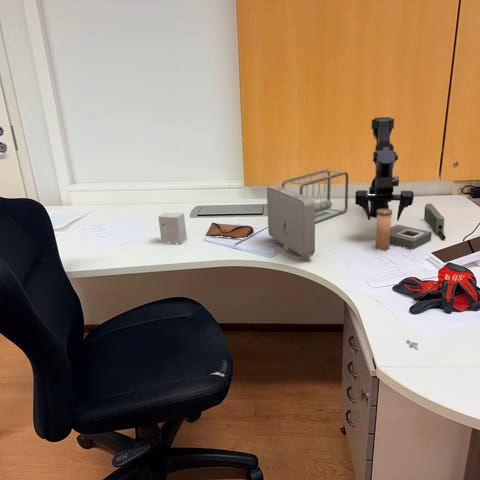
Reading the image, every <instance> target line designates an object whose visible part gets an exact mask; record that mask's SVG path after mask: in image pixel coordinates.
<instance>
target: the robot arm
mask: <svg viewBox="0 0 480 480" xmlns="http://www.w3.org/2000/svg"><path fill="white" fill-rule="evenodd" d="M370 127H371V128H370V129H371V130H372V135H373V138H374V139H375V141H376V145H375V149H374V151H373V152H372V162H373V163H374V165H375V174H374V175H375V176H374V178H373V179H372V181H371V184H370V186H369V188H368V190H358V189H357V190H356V191H355V201H354V202H355V205H357V206H359V207H360V208H362V209H363V211H364V213H365V215H366V217H367V220H368V221H370V219H371V217H375V218H377V209H390V205H389V203H391V202H392V201H396V202H397V201H398V202H399V203H398V209H397V216H396V221H397V222H398V221H400V218H401V216H402V212H403V211H404V210H405V208H408V207H410V206H412V205H413V201H414V198H415V195H414V194H415V193H414V192H413V191H412V190H401V191H400V194H393V193H394V187H399V185H400V177H399V175H393V170H394V167H395V162H397V161H398V160H399V156H398V154H397V152H396V151H395V150H394V149H395V148H394V147H395V146H394V145H393V144H392V143H391V139H390V138H391V135H392V131H393V130H394V128H395V118H391V117H389V116H388V117H386V116H385V117H381V116H380V117H374V119H372V120H371V126H370ZM369 203H370V204H369Z"/></svg>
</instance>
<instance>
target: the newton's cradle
mask: <svg viewBox="0 0 480 480" xmlns="http://www.w3.org/2000/svg"><path fill="white" fill-rule="evenodd" d="M324 174H327V175H324ZM343 175H344V176H345V185H344V186H345V187H344V188H345V190H344V209H343V210H338V209H335V208H332V206H333V202H332V201H331V187H332V185H331V183H332V182H333V178H337V177H341V176H343ZM319 176H321V177H319ZM313 177H316V178H313ZM309 178H310V180H308V179H309ZM297 181H300V182H297ZM301 181H302V182H301ZM321 182H323V183H324V186H326V184H327V190H326V188H324V190H323V192H326V195H325V194H323V196H322V197H321V195H319V196H317V199H316V197H315V196H314V194H315V191H314V190H312V194H311V196H313V198H314V199H313V200H314V201H318V200H319V197H320V202H315V214H319V213H320V211H321V212H323V211H325V210H331V211H335V212H336V211H337V212H336V213H333V214H330V215H327V216H326V217H322V218H319V219H315V225H316V224H319V223H322V222H324V221H327V220H330V219H332V218H335V217H338V216H340V215H342V214H345V213H346V212H347V211H348V206H349V205H348V204H349V203H348V201H349V173H348V172H347V171H343V172H341V171H336V170H335V171H334V170H330V169H323V170H318V171H314V172H311V173H308V174H303V175H299V176H297V177H296V176H295V177H293V178H288V179H285V180H283V181H282V183H281V187H284V188H285V185H286V184H288V183H290V184H297V185H298V186H299V194H301V195H304V193H303V189H304V187H305V188H306V191H305V194H306V197H309V194H308V186H309V185H311V186H312V189H314V188H315V185H314V184H316V183H318V193H317V194H320V193H321V191H320V185H321V184H320V183H321ZM324 196H325V198H326V200H322V198H324Z"/></svg>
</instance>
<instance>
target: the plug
mask: <svg viewBox="0 0 480 480" xmlns="http://www.w3.org/2000/svg"><path fill="white" fill-rule="evenodd" d="M392 214H393V210H392V209H390V208H389V209H377V217H376V229H375V232H376V233H375V249H376V250H378V249H380V250H379V251H388V250H390V245H391V244H390V228H391V227H392V226H391V225H392ZM387 249H388V250H387Z"/></svg>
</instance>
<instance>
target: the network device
mask: <svg viewBox="0 0 480 480" xmlns="http://www.w3.org/2000/svg"><path fill="white" fill-rule="evenodd" d="M266 202H267V203H266V204H267V223H268V224H267V227H268V229H267V230H268V235H269V236H270V237H271V238H273V239H275V240H272V241H270V242H269V246H270V247H271V248H274V249H275V250H276V251H278V252H279V253H281V254H282V255H284V257H285V256H286V257H287V258H288V259H290V260H304V259H308V258H311V257H313V256H314V254H315V253H316V224H315V221H316V213H315V203H316V201H315V200H314V199H313V197H309V196H307V195H304V194H303V195H301V194H300V192H296V191H293V190H290V189H288V188H286V187H285V186H284V187H282V185H271V186H268V187H267V188H266ZM279 243H281V244H282V245H283V247H279V246H277V245H276V244H279ZM293 251H294V252H295V253H296V254H298V256H293V255H291V254H290V253H288V252H293Z"/></svg>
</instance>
